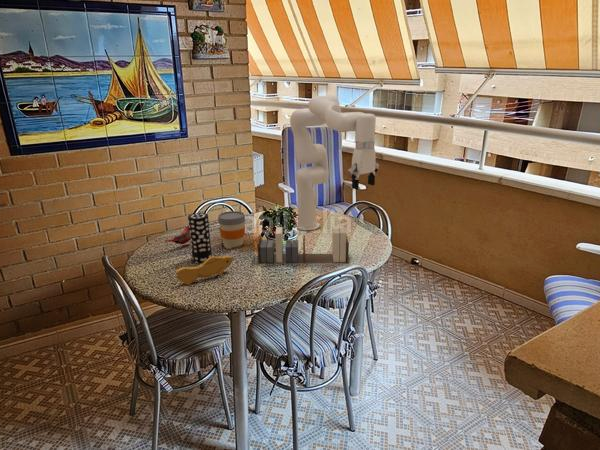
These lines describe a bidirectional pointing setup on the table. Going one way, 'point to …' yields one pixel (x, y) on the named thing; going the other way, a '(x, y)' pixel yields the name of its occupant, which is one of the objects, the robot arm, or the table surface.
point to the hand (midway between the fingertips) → (363, 186)
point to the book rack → (306, 256)
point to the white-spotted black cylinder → (200, 237)
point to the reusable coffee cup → (232, 228)
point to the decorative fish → (204, 269)
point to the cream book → (279, 244)
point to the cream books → (339, 244)
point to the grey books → (268, 251)
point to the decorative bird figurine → (181, 237)
